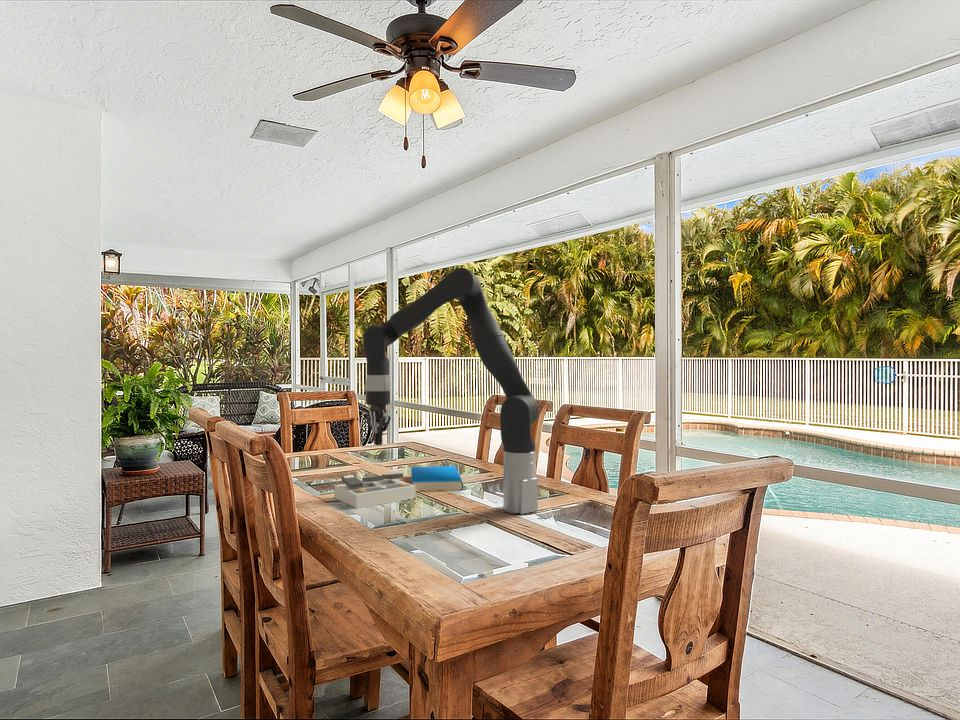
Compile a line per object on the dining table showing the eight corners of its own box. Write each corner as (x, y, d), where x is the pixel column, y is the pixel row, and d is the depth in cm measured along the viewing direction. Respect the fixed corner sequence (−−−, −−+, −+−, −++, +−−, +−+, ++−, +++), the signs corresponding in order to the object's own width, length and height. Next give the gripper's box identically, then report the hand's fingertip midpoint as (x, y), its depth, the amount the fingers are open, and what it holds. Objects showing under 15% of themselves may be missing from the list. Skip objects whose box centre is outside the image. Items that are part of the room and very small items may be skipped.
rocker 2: (383, 480, 186) (383, 475, 187) (372, 481, 184) (371, 476, 184) (373, 480, 192) (373, 475, 192) (362, 482, 189) (361, 477, 190)
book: (412, 481, 196) (410, 466, 221) (412, 494, 196) (410, 477, 221) (464, 479, 198) (456, 465, 223) (464, 492, 198) (456, 476, 223)
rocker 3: (403, 477, 191) (402, 473, 191) (392, 479, 188) (391, 474, 188) (392, 477, 196) (392, 472, 196) (381, 479, 194) (381, 474, 194)
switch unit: (415, 498, 186) (415, 484, 186) (356, 508, 174) (356, 493, 174) (390, 489, 199) (390, 476, 199) (334, 497, 187) (334, 483, 187)
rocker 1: (362, 487, 182) (363, 482, 182) (350, 488, 180) (351, 484, 180) (353, 479, 188) (353, 474, 188) (341, 480, 185) (341, 476, 185)
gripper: (398, 390, 183) (398, 446, 183) (379, 388, 194) (379, 441, 194) (376, 390, 178) (376, 448, 179) (357, 388, 189) (357, 443, 189)
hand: (378, 444), depth 186 cm, fingers closed
